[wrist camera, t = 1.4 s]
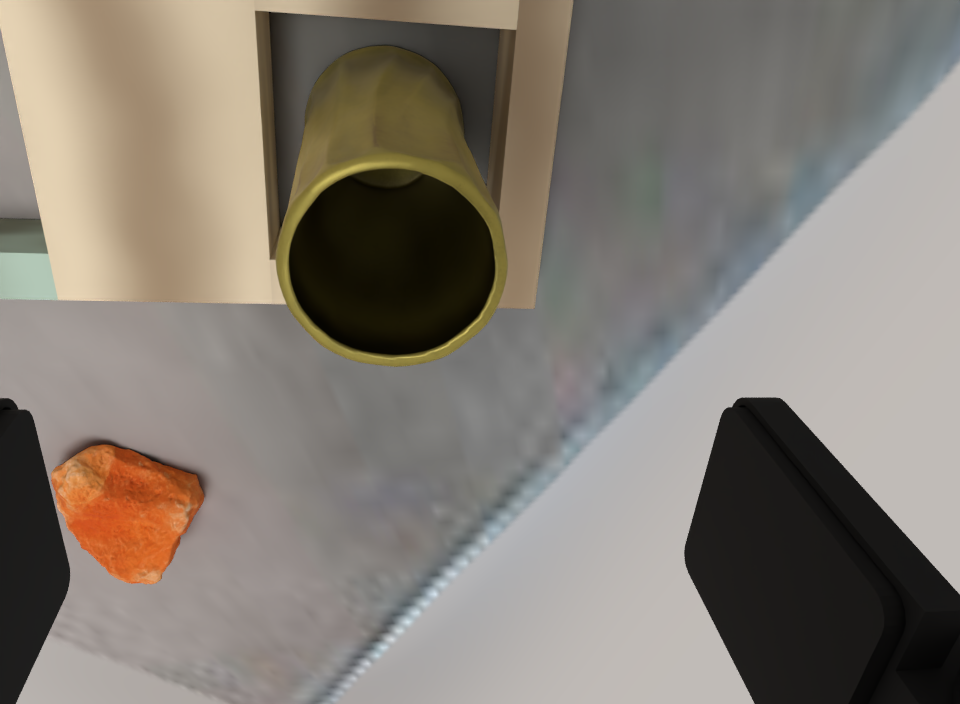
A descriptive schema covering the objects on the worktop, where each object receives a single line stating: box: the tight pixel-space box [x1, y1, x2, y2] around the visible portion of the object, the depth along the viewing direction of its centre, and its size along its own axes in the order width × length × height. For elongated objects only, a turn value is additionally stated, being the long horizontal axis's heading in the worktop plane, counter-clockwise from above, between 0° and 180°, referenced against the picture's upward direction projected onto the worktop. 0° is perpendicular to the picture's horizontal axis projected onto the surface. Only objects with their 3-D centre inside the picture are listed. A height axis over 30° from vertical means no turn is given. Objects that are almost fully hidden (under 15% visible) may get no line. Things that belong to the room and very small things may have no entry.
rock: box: [51, 444, 204, 584], centre depth 35 cm, size 12×12×4 cm
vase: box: [275, 46, 508, 367], centre depth 23 cm, size 6×6×14 cm
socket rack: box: [0, 0, 574, 309], centre depth 26 cm, size 28×12×4 cm, turn 85°
